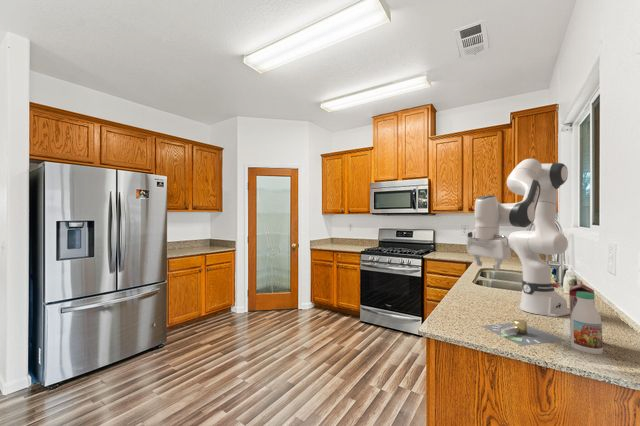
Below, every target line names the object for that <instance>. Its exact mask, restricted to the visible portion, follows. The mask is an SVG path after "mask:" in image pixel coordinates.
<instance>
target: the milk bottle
mask: <svg viewBox="0 0 640 426" xmlns="http://www.w3.org/2000/svg"><path fill="white" fill-rule="evenodd" d="M576 296H577V297H576V298H577V303H576V306H575V307H574V309H573V311H572V314H571V330H570V339H571V347H572V348H574V349H576V350H578V351H580V352H583V353H588V354H593V355H596V354H597V355H599V354H600V355H601V354H603V352H604V347H603V346H604V345H603V325H602V317H601V315H600V313H599V311H598V309H597V308H596V306H595V305H596V304H595V293H594V294H593V293H589V292H581V291H580V292H576ZM594 304H595V305H594Z"/></svg>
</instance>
